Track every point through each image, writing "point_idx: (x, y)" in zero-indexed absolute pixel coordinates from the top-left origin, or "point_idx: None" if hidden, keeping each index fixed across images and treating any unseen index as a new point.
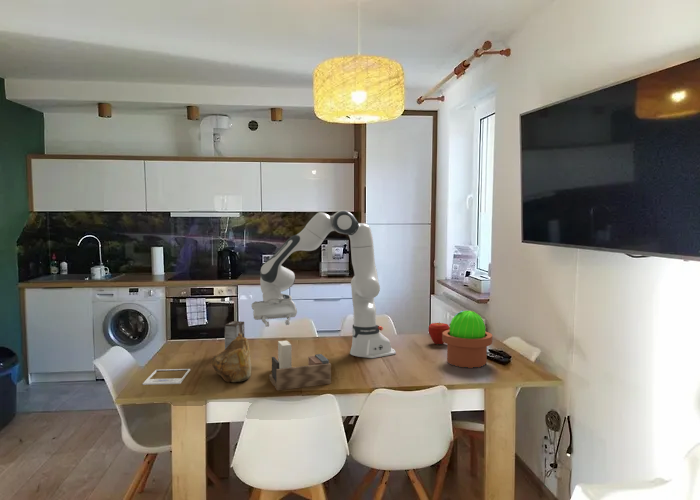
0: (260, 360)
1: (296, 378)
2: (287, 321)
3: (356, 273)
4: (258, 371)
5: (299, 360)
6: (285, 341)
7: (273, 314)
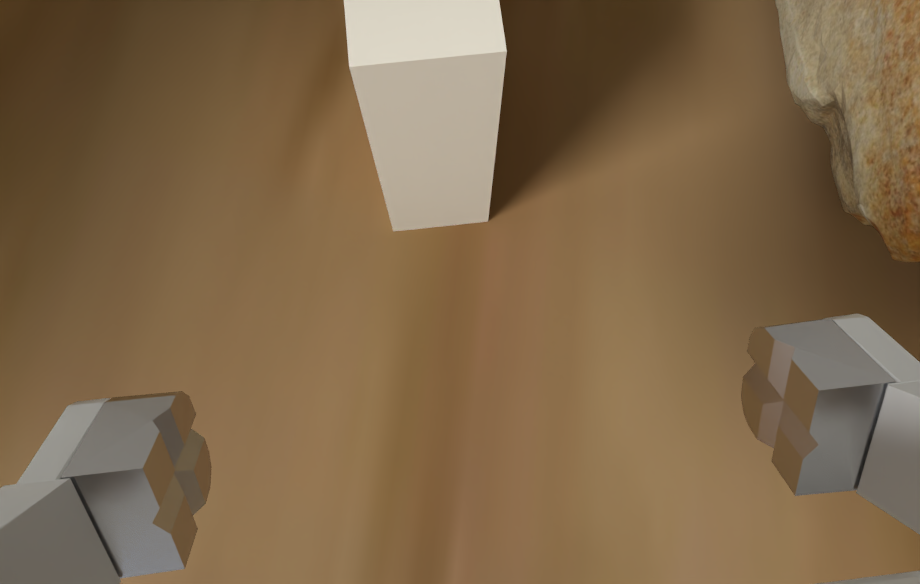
0: (670, 567)
1: None
2: (108, 433)
3: None
4: (692, 158)
5: None
6: (383, 13)
7: None
